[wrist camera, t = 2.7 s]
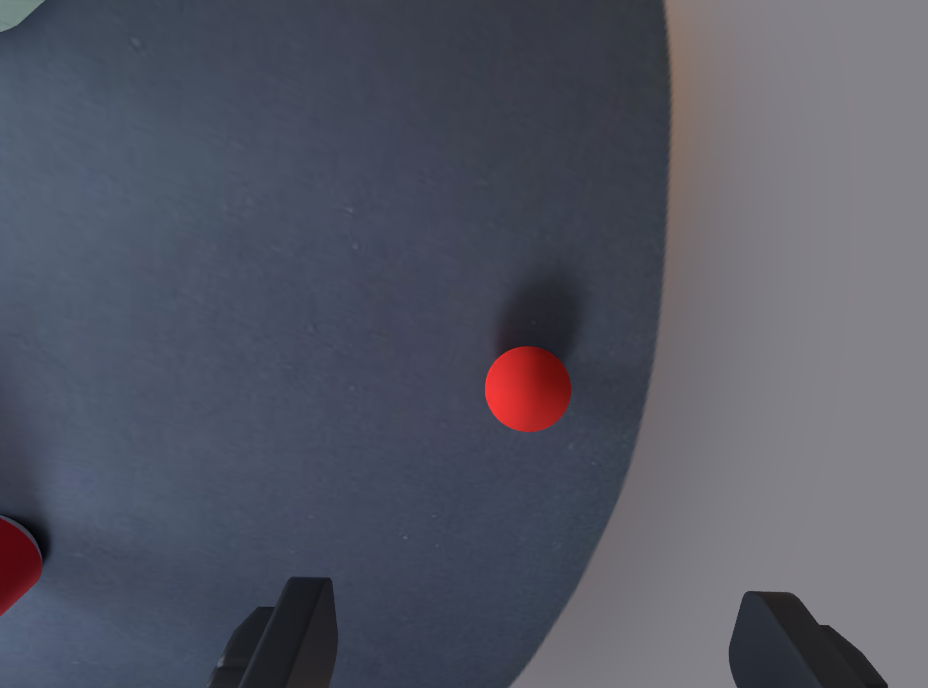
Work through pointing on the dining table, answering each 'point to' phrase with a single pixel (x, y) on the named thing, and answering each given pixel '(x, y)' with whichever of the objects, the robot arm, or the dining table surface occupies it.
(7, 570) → the beverage can
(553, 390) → the cherry tomato
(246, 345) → the dining table surface
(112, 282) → the dining table surface
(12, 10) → the mixing bowl
